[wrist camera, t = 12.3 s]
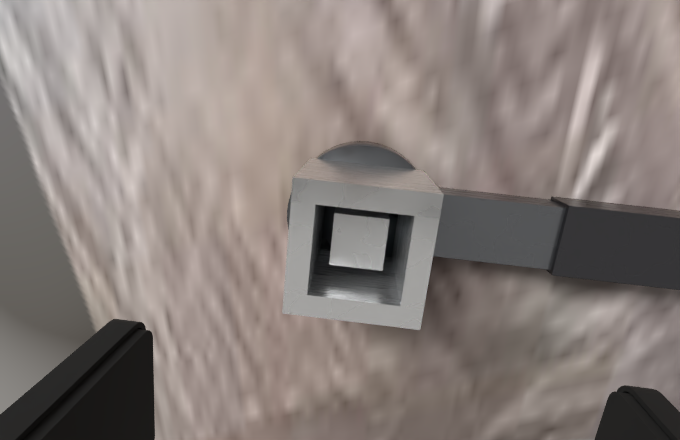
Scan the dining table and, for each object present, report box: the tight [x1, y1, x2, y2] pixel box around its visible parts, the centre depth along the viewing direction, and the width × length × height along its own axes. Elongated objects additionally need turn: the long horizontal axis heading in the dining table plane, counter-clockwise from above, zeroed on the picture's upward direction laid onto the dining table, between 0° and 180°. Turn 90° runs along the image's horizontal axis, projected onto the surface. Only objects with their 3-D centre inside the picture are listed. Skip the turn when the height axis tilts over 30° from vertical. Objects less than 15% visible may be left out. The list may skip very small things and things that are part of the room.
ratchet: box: [287, 141, 680, 290], centre depth 23 cm, size 24×8×6 cm, turn 84°
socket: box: [282, 158, 444, 330], centre depth 21 cm, size 6×6×6 cm
